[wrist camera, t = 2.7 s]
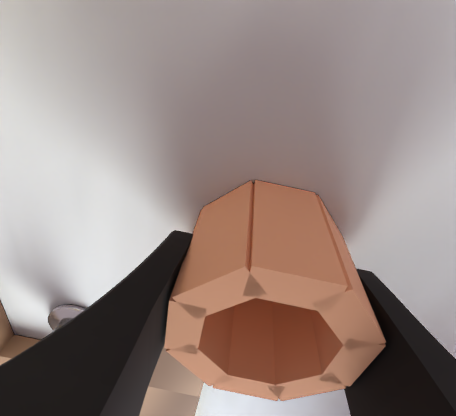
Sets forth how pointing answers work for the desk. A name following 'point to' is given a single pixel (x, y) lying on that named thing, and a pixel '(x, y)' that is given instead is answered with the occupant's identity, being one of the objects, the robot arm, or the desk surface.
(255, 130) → the desk surface
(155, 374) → the wooden u-shaped block
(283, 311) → the hollow octagonal tube
